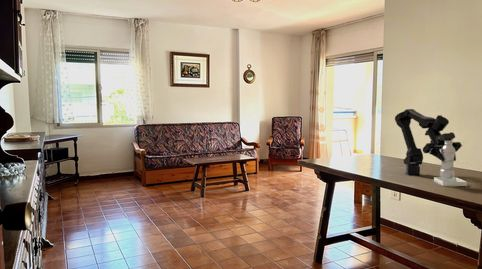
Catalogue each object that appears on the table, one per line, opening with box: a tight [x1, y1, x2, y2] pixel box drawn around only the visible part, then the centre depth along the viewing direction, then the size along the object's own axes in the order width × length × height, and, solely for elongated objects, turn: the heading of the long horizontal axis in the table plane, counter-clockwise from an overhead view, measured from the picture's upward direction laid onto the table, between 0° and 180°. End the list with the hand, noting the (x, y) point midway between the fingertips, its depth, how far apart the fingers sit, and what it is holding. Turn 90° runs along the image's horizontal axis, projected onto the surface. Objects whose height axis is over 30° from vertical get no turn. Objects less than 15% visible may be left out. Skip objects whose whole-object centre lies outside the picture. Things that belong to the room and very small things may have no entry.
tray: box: [433, 176, 468, 188], centre depth 183 cm, size 12×11×2 cm
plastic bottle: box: [439, 140, 456, 179], centre depth 178 cm, size 6×7×20 cm
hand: (449, 160), depth 177 cm, fingers closed on plastic bottle, 6 cm apart
